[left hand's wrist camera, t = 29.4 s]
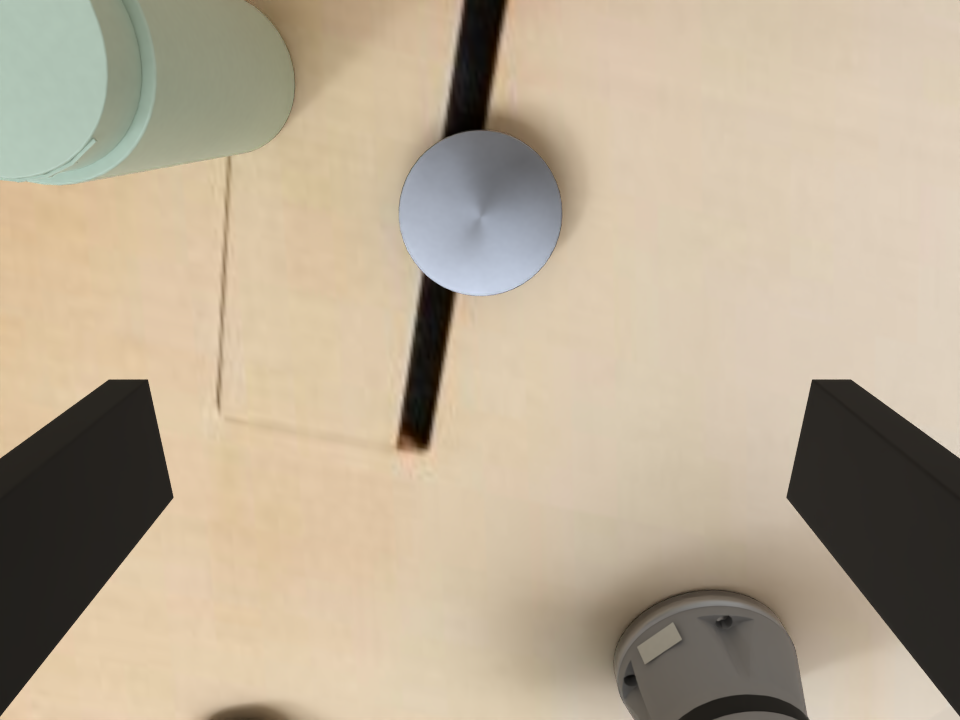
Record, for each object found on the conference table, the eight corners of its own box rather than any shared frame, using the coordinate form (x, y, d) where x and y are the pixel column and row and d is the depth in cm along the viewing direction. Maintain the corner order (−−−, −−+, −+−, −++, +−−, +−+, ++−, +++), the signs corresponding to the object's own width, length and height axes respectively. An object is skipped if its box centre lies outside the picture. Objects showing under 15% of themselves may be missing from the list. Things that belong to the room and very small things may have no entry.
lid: (576, 150, 39) (582, 152, 37) (535, 300, 43) (538, 311, 41) (419, 111, 38) (415, 111, 36) (391, 268, 42) (385, 277, 40)
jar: (112, 63, 37) (-240, 18, 19) (215, -47, 35) (-72, -217, 17) (224, 184, 40) (9, 246, 22) (326, 88, 38) (182, 68, 20)
